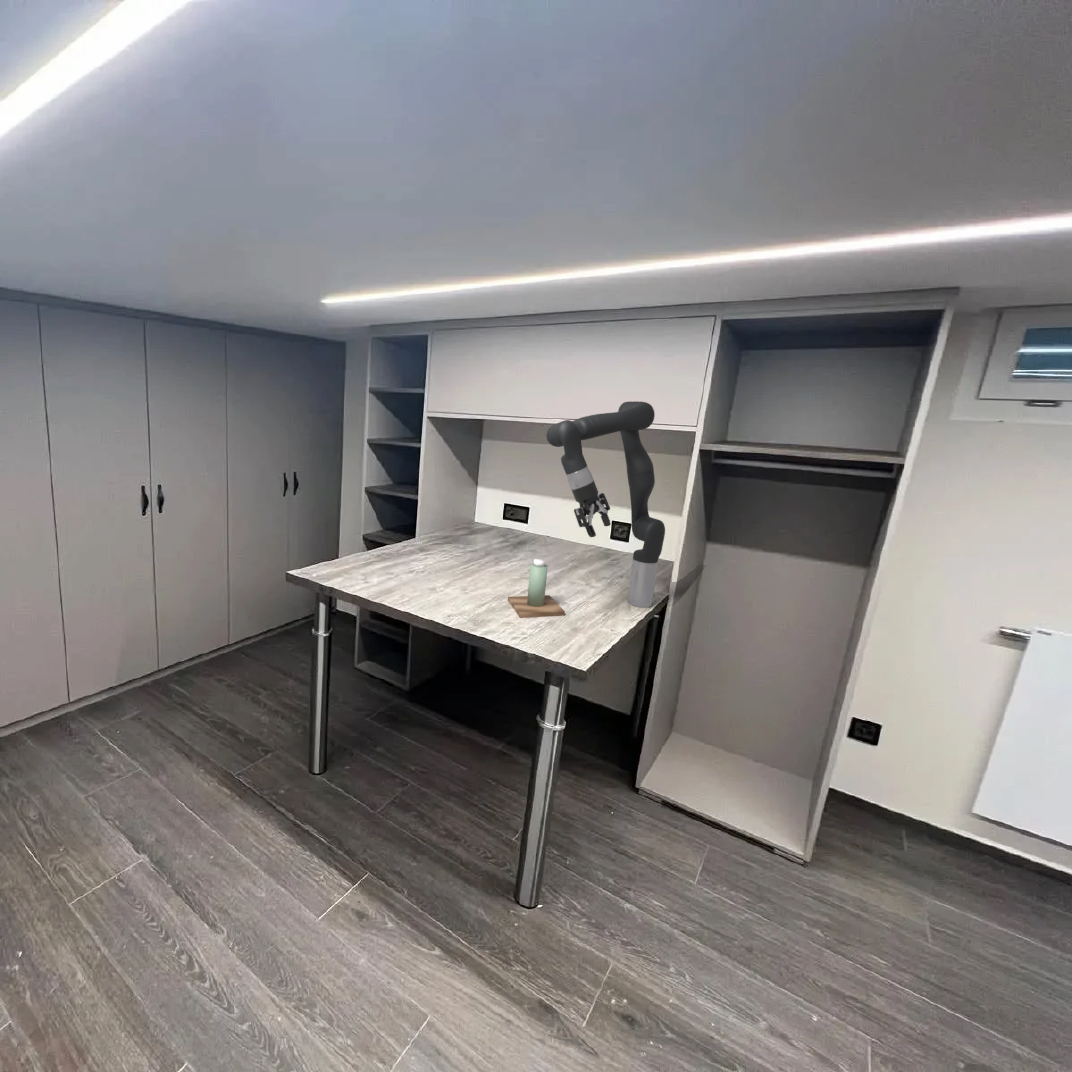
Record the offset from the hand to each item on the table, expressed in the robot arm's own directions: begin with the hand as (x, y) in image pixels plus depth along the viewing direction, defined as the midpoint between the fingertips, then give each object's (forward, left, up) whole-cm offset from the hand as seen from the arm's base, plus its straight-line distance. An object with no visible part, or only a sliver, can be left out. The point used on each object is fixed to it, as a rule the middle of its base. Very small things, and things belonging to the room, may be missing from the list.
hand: (600, 531), depth 159 cm
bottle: (-2, -22, -30) cm, 37 cm away
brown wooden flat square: (-2, -22, -32) cm, 39 cm away
